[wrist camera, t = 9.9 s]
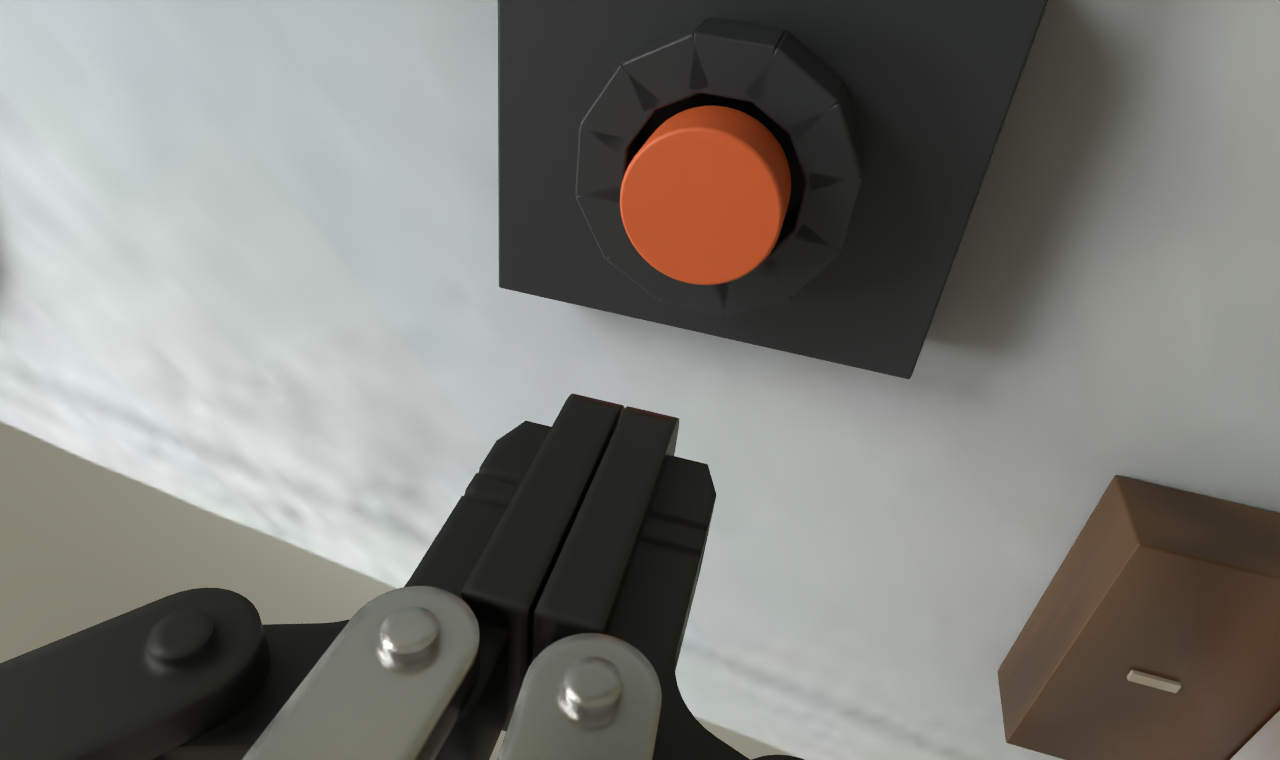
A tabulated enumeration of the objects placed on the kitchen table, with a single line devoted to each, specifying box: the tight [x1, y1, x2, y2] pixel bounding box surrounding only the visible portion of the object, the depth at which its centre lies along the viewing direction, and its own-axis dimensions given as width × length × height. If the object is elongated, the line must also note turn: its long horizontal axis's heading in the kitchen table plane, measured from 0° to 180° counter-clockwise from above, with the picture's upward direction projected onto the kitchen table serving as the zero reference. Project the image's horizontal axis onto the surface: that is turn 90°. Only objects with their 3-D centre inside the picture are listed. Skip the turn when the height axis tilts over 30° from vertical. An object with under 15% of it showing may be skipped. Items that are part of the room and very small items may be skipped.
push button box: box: [498, 0, 1049, 379], centre depth 20 cm, size 12×10×4 cm
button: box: [620, 106, 791, 285], centre depth 18 cm, size 4×4×2 cm
